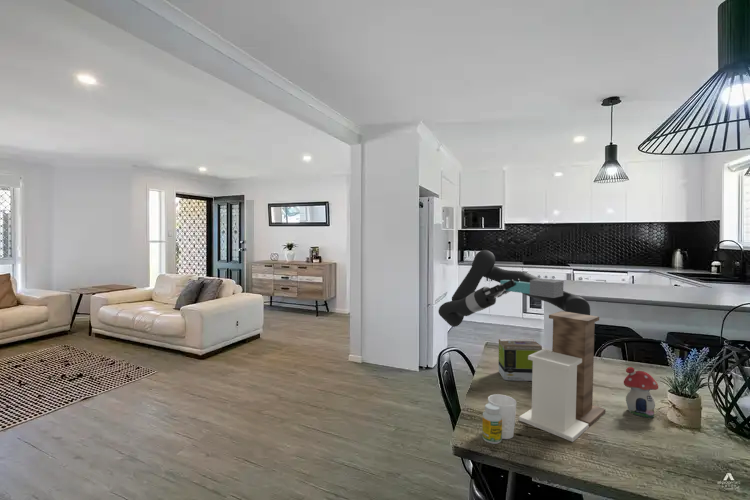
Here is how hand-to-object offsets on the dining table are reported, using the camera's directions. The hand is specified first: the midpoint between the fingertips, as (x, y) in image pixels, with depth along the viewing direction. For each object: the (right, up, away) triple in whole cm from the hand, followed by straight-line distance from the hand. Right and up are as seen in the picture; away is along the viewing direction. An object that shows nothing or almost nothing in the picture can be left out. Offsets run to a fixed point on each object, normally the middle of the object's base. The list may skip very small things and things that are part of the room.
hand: (516, 281), depth 130 cm
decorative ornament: (+37, -43, -9) cm, 58 cm away
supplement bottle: (-17, -43, -26) cm, 53 cm away
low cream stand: (+5, -43, -17) cm, 46 cm away
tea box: (+9, -42, +22) cm, 48 cm away
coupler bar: (+3, -4, -3) cm, 6 cm away
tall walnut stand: (+15, -43, -8) cm, 46 cm away
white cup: (-13, -43, -23) cm, 50 cm away
